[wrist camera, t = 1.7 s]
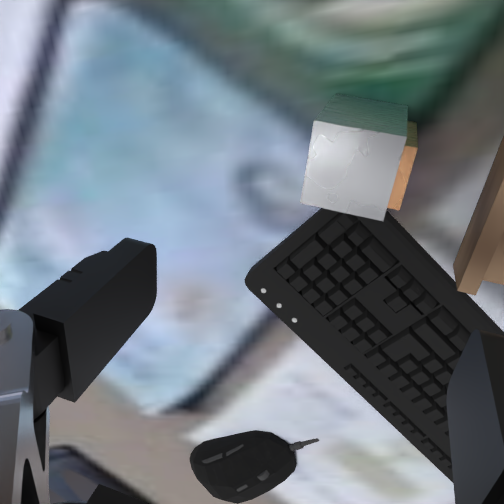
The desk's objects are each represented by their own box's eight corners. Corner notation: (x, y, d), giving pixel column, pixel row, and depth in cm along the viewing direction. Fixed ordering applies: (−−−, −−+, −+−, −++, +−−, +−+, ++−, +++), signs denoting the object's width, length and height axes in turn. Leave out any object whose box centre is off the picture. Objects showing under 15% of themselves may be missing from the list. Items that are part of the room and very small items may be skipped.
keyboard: (643, 471, 32) (656, 498, 30) (500, 510, 38) (504, 533, 36) (357, 175, 28) (354, 186, 26) (247, 268, 34) (239, 282, 32)
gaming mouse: (338, 460, 40) (331, 502, 37) (218, 485, 48) (203, 522, 44) (299, 411, 39) (289, 449, 36) (182, 445, 46) (164, 479, 43)
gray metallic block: (336, 93, 26) (314, 120, 20) (418, 107, 25) (421, 139, 19) (323, 160, 28) (299, 203, 22) (399, 175, 27) (396, 224, 21)
